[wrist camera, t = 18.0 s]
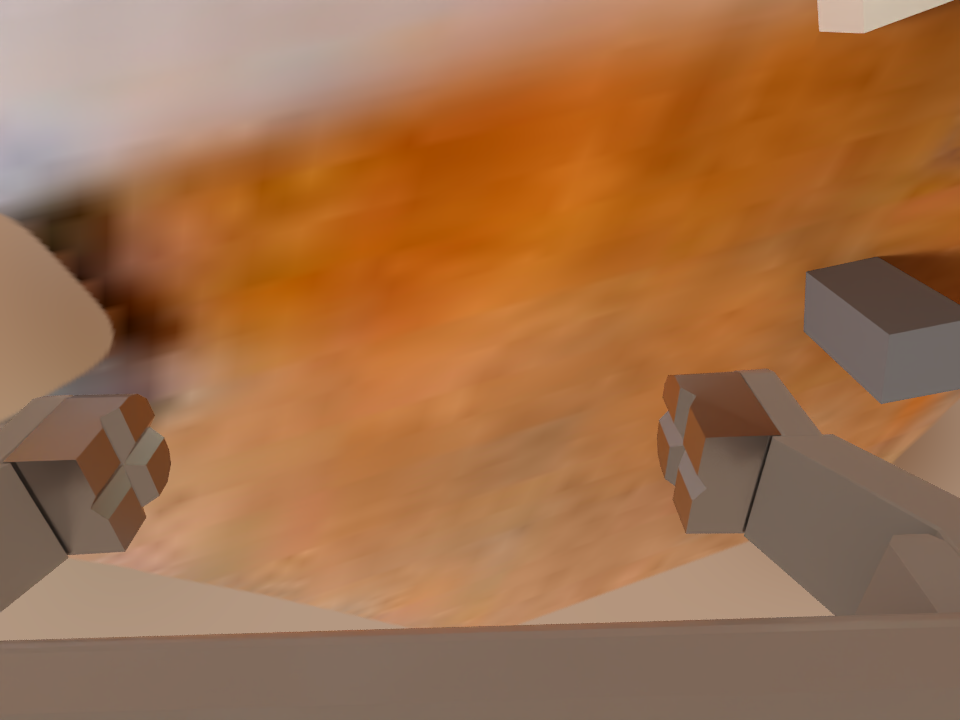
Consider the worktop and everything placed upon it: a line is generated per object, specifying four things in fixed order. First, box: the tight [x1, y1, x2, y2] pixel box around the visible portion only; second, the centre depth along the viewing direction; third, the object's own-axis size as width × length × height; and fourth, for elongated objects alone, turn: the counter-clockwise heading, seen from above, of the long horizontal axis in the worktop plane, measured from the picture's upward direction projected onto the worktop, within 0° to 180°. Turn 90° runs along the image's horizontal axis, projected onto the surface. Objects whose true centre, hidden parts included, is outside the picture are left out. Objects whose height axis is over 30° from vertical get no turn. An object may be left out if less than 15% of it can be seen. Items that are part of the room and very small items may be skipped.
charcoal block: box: [804, 257, 960, 404], centre depth 40 cm, size 5×5×10 cm
